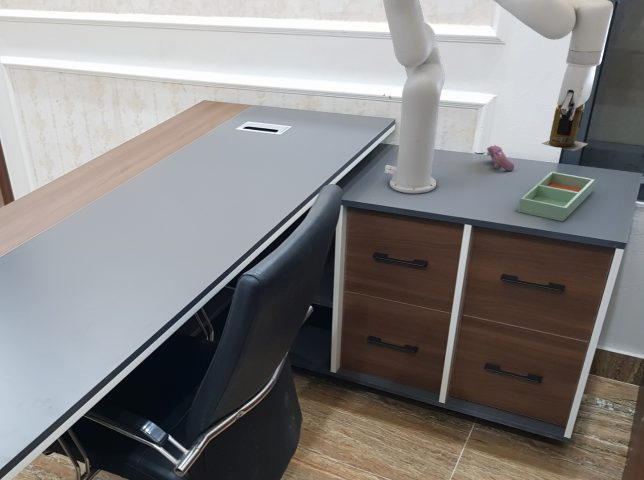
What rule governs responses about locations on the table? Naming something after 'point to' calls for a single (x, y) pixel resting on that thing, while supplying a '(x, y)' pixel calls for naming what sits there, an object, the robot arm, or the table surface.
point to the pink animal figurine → (499, 158)
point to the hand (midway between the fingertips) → (568, 130)
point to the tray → (556, 196)
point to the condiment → (563, 140)
